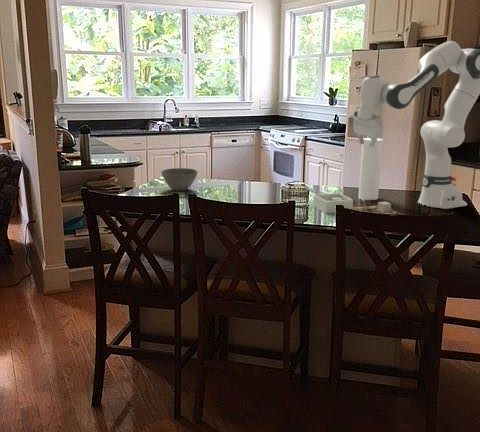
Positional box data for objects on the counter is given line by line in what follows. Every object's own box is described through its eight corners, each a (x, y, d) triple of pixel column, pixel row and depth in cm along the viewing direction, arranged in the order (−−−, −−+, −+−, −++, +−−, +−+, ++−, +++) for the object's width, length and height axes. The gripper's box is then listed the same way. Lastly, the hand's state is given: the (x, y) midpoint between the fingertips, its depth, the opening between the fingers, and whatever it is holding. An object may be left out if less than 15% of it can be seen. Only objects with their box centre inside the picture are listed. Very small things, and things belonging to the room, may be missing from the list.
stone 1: (338, 205, 241) (339, 197, 240) (341, 207, 237) (342, 199, 236) (330, 205, 240) (331, 197, 239) (333, 208, 236) (334, 199, 235)
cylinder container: (363, 195, 262) (368, 136, 254) (381, 198, 256) (386, 138, 248) (354, 199, 255) (359, 138, 247) (372, 202, 249) (377, 140, 241)
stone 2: (384, 210, 233) (385, 201, 232) (390, 212, 230) (391, 203, 229) (377, 210, 232) (378, 202, 231) (382, 213, 228) (383, 204, 227)
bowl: (196, 194, 261) (196, 175, 258) (159, 194, 261) (158, 174, 259) (199, 186, 279) (199, 167, 276) (164, 185, 279) (164, 167, 277)
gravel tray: (382, 209, 237) (382, 205, 237) (396, 216, 226) (397, 212, 226) (350, 211, 233) (351, 207, 233) (363, 219, 222) (364, 215, 222)
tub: (339, 205, 243) (339, 193, 242) (352, 213, 231) (353, 199, 229) (313, 207, 240) (313, 194, 238) (325, 214, 228) (325, 201, 226)
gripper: (388, 116, 217) (385, 149, 221) (364, 111, 236) (362, 142, 240) (374, 116, 215) (371, 149, 219) (351, 112, 234) (349, 142, 238)
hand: (366, 145), depth 230 cm, fingers open, 8 cm apart
